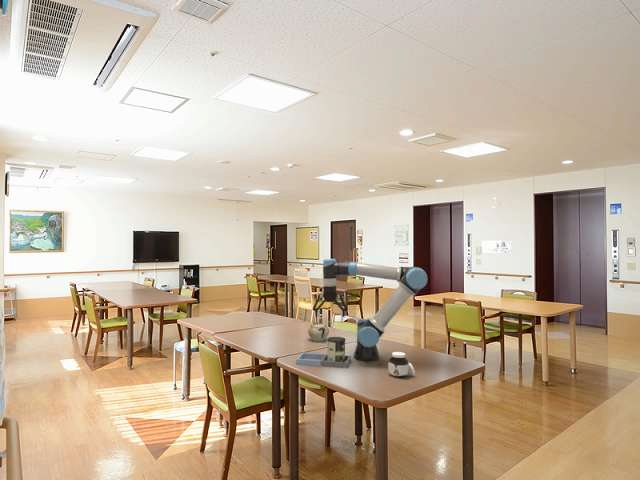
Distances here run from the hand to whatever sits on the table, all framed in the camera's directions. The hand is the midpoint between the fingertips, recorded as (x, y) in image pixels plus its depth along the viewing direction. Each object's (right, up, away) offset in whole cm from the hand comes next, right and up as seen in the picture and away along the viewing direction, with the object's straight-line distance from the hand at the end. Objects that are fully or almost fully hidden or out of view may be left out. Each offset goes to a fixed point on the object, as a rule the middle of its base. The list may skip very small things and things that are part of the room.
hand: (330, 322), depth 238 cm
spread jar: (+37, -23, -22) cm, 49 cm away
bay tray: (-4, -23, 0) cm, 23 cm away
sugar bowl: (-7, -24, +55) cm, 60 cm away
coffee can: (+3, -23, -2) cm, 23 cm away
